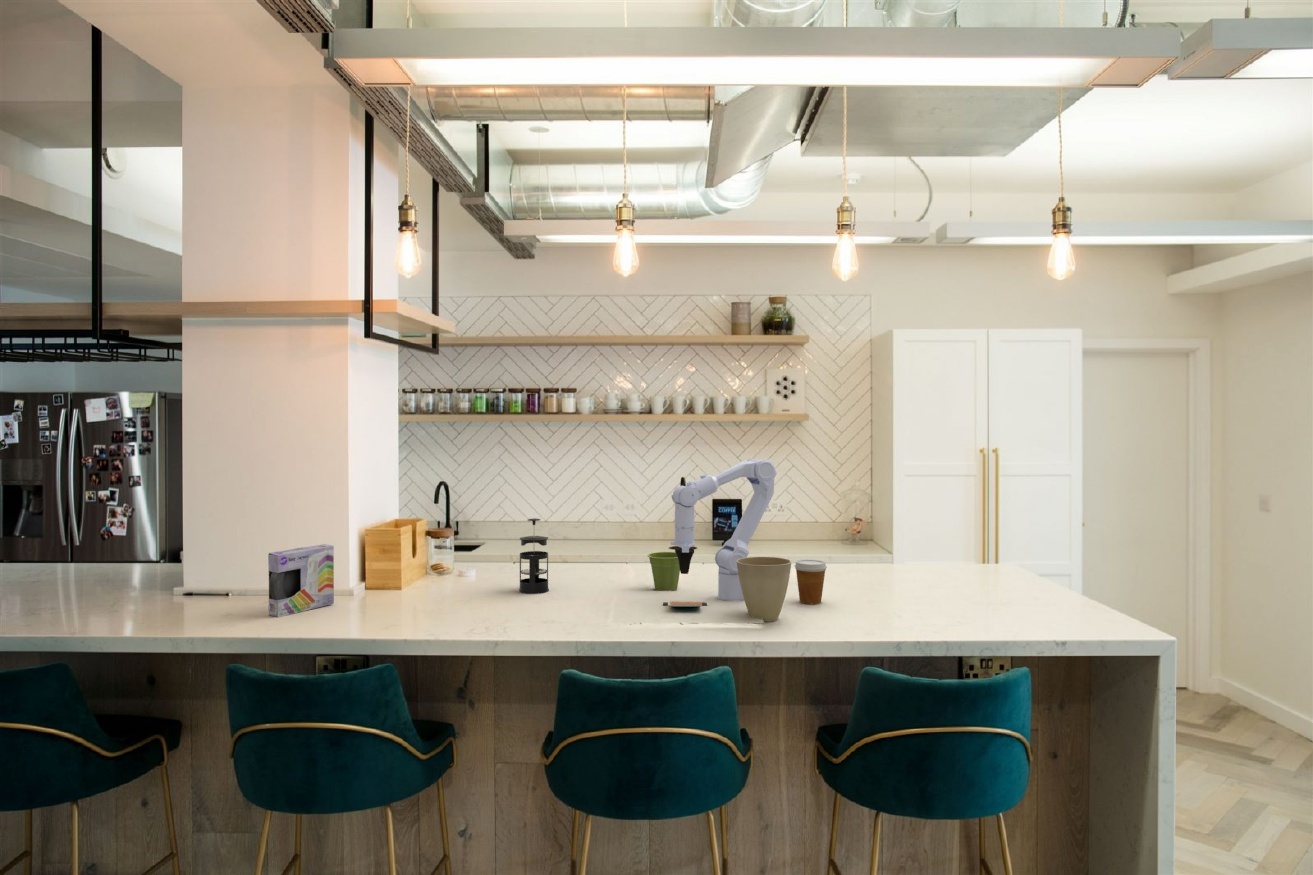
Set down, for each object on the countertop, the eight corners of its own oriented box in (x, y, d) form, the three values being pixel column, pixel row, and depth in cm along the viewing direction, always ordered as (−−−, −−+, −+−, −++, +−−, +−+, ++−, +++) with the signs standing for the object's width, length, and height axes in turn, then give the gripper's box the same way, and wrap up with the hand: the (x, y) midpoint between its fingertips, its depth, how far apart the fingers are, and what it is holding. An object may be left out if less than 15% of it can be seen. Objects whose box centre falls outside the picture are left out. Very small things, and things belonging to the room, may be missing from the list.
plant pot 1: (645, 586, 264) (645, 551, 264) (681, 585, 266) (681, 551, 265) (649, 593, 253) (649, 557, 252) (686, 593, 254) (686, 557, 254)
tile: (700, 601, 231) (701, 602, 222) (700, 605, 231) (702, 606, 222) (670, 600, 231) (670, 602, 222) (670, 605, 231) (670, 606, 222)
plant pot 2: (780, 611, 229) (781, 555, 229) (798, 624, 214) (799, 564, 214) (729, 613, 226) (730, 556, 226) (744, 626, 212) (744, 566, 211)
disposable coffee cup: (791, 603, 239) (791, 563, 238) (798, 597, 248) (798, 558, 247) (823, 606, 235) (823, 565, 235) (829, 600, 244) (829, 560, 244)
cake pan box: (274, 618, 219) (274, 553, 219) (263, 616, 221) (263, 552, 221) (335, 605, 235) (335, 544, 235) (324, 603, 238) (324, 543, 238)
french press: (547, 594, 251) (547, 520, 251) (516, 594, 251) (516, 520, 250) (550, 586, 263) (550, 516, 262) (521, 586, 262) (521, 516, 262)
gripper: (670, 524, 243) (670, 569, 243) (671, 530, 228) (671, 578, 229) (693, 524, 243) (693, 569, 243) (696, 530, 228) (696, 578, 229)
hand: (684, 573), depth 236 cm, fingers closed
